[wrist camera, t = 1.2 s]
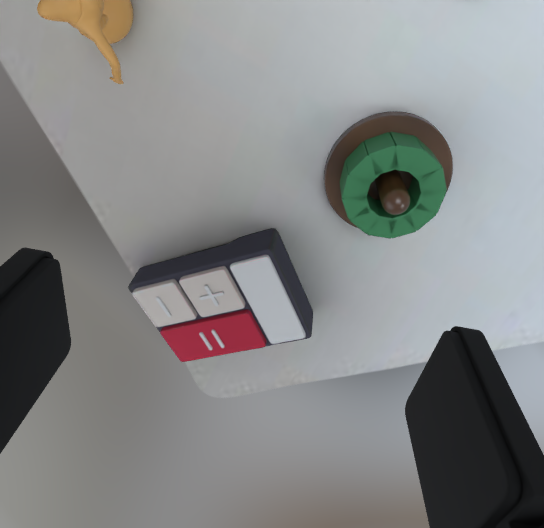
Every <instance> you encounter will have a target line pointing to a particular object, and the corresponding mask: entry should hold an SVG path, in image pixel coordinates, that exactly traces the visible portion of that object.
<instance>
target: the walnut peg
mask: <svg viewBox="0 0 544 528" xmlns="http://www.w3.org/2000/svg"><path fill="white" fill-rule="evenodd" d="M387 132H389V133H390V132H396V133H402V134H408V135H414V136H415V137H417V138H418V139H419V140H420V141H421V142H423V143H424V144H425V145H426V146H427V147H428V148H429V149H430V150H431V151H432V152H433V154H434V155H435V156H436V158H437V159H438V161H439V162H440V164H441V165H442V167H443V171H444V177H445V182H446V188H447V190H448V187H449V184H450V182H451V177H452V170H453V163H452V155H451V151H450V148H449V146H448V144H447V142H446V140H445V139H444V137H443V136H442V134H441V133H440V132H439V131H438V130H437V129H436V128H435V127H434V126H433V125H432V124H431V123H430V122H428V121H427V120H425V119H423V118H421V117H419V116H416V115H414V114H410V113H406V112H384V113H379V114H375V115H372V116H369V117H367V118H365V119H362V120H361V121H359V122H357V123H355V124H354V125H353V126H351V127H350V128H349V129H347V130H346V131H345V132H344V133H343V134H342V135H341V136H340V138H339V139H338V140H337V141H336V143H335V144H334V146H333V148H332V149H331V151H330V154H329V156H328V159H327V162H326V166H325V189H326V194H327V197H328V200H329V202H330V204H331V206H332V207H333V209H334V210H335V212H336V213H337V214H338V215H339V216H340V217H341V218H342V219H343V220H345V221H346V222H348V223H349V224H351V225H353V226H355V227H357V226H356V225H354V224H353V223H352V222H351V221H350V220H349V219H348V217H347V214H346V211H345V208H344V205H343V202H342V197H341V190H340V178H341V174H342V170H343V166H344V163H345V160H346V158H347V157H348V156H349V155H350V154H351V153H352V152H353V151H354V150H355V149H356V148H357V147H358V146H359V145H360V144H361V143H362V142H363V141H364V140H367V139H369V138H372V137H375V136H378V135H381V134H384V133H387ZM412 179H413V176H412V175H411V174H410V173H409V172H405V171H399V170H392V171H389V172H386V173H383V174H380V175H379V176H378V177H377V178H376V179H375V180H374V181H373V182H372V183H371V184H370V187H369V190H368V194H369V195H370V196H371V197H372V198H374V199H376V200H381V204H382V207H383V208H384V210H385V211H386V212H387V213H389V214H392V215H399V214H402V213H403V212H405V211H406V210H407V209H408V207H409V205H410V196H409V193H408V191H407V190H408V189H409V187H410V184H411V181H412ZM447 190H446V192H447ZM357 228H358V227H357Z"/></svg>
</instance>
